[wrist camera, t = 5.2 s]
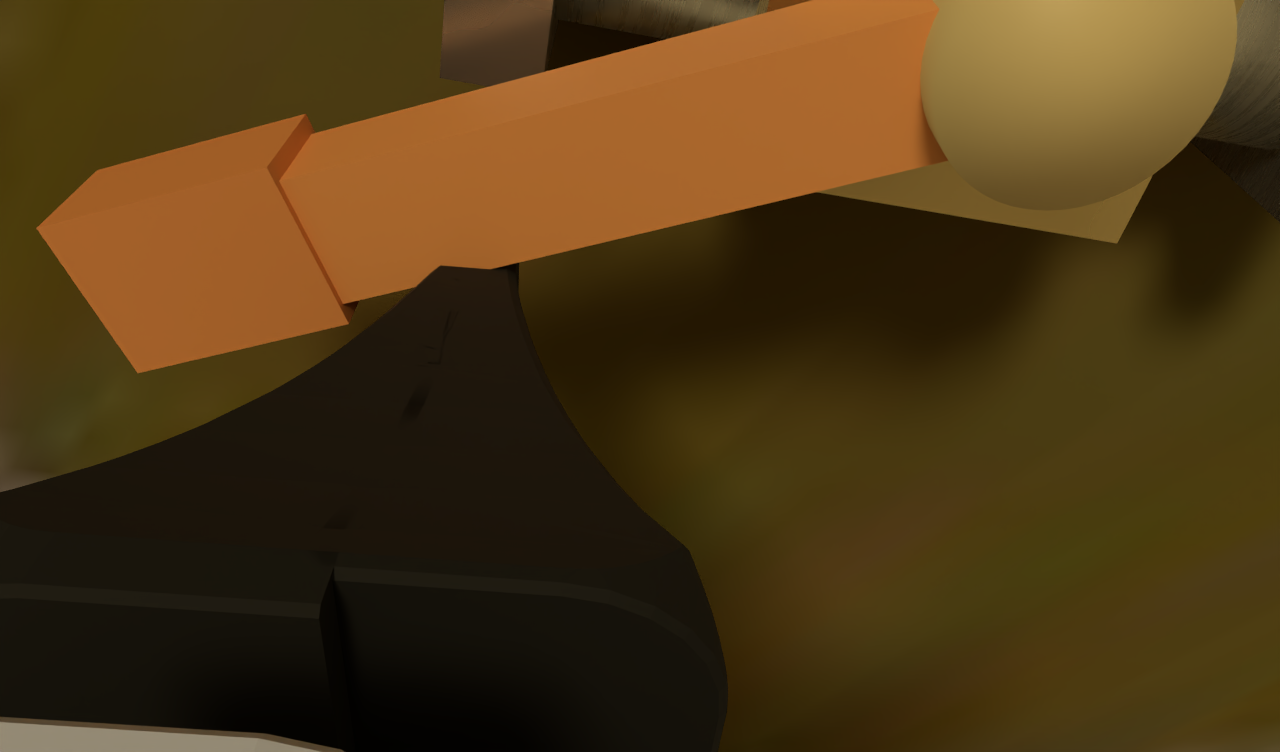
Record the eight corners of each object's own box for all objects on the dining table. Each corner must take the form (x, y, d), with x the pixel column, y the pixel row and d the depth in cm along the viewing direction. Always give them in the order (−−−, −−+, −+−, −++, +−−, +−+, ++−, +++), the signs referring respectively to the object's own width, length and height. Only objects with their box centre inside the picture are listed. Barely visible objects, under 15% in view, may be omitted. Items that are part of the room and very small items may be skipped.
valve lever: (1147, -160, 9) (1251, -121, 8) (1140, 97, 11) (1225, 175, 9) (87, 135, 11) (-6, 216, 10) (203, 320, 13) (140, 418, 11)
